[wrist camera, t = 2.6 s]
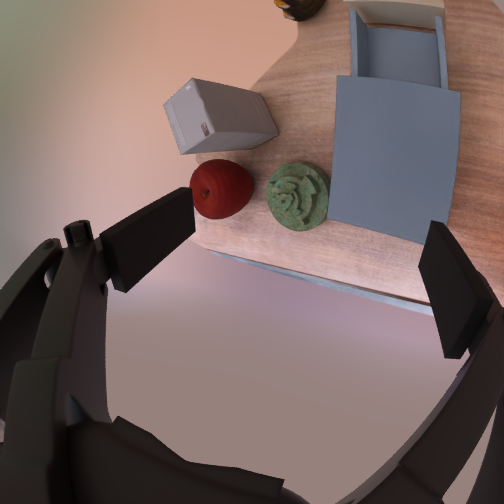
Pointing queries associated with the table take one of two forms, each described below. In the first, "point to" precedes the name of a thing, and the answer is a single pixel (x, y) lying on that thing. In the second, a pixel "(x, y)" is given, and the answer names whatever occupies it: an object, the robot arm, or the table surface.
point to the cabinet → (394, 155)
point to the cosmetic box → (218, 118)
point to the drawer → (398, 41)
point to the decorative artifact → (299, 196)
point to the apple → (220, 188)
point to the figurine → (298, 8)
